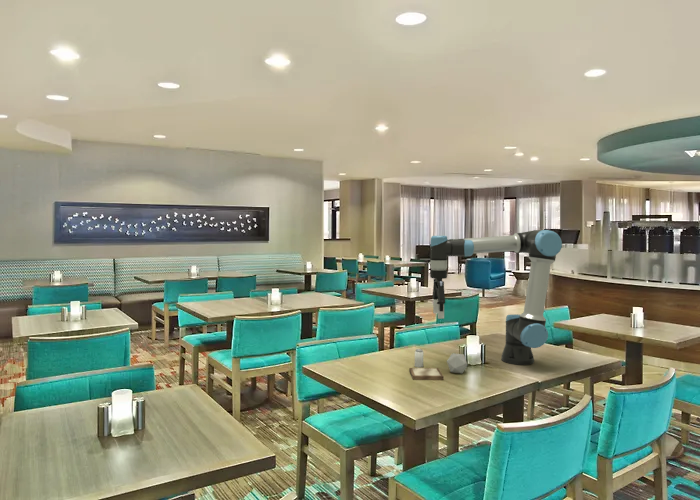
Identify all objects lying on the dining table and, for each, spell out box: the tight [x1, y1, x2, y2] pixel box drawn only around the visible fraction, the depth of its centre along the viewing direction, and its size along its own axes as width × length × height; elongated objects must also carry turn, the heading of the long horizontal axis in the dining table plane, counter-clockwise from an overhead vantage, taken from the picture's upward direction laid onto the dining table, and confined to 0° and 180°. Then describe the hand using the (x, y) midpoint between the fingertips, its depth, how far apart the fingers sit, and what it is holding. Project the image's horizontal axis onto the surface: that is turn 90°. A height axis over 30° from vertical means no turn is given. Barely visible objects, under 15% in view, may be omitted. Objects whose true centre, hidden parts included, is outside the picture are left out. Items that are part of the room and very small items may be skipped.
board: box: [408, 367, 444, 381], centre depth 222 cm, size 13×13×2 cm
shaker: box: [414, 348, 424, 368], centre depth 236 cm, size 4×4×8 cm
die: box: [446, 352, 468, 374], centre depth 227 cm, size 8×9×10 cm
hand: (438, 315), depth 230 cm, fingers open, 13 cm apart
